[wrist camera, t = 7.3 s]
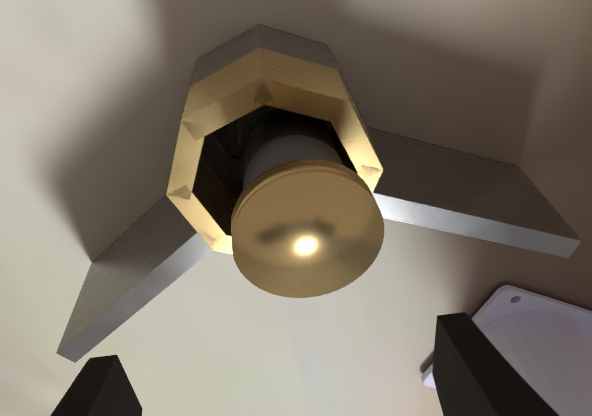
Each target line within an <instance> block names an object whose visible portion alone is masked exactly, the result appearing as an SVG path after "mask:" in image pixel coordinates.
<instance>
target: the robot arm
mask: <svg viewBox="0 0 592 416" xmlns="http://www.w3.org/2000/svg"><path fill="white" fill-rule="evenodd" d="M421 379H422V382H423V384H424V385H426V386H429V387H433V388H436V390H437V393H438V397H439V401H440V404H441V408H442V411H443V415H444V416H592V311H590V310H587V309H584V308H581V307H578V306H574V305H571V304H568V303H565V302H562V301H559V300H555V299H552V298H549V297H546V296H543V295H540V294H536V293H533V292H530V291H527V290H524V289H521V288H517V287H514V286H511V285H504V286H501V287H500V288H498V289H497V290H496V291H495V293H494V294H493V295H492V296H491V297H490V298H489V299H488V301H487V302H486V303H485V304H484V305H483V306H482V307H481V309H480V310H479V311H478V312H477V313H476V314H475V315H474V317H473V318H472V319H471V318H470V317H469V315H467V314H466V313H465V312H463V313H455V314H447V315H438V316H437V324H436V335H435V346H434V358H433V363H432V364H431V366H430V367H429V368H428V369H427V370H426V371H425V372H424V373H423V375H422V376H421ZM51 416H142V407H141V405H140V403H139V401H138V399H137V396H136V394H135V392H134V390H133V388H132V386H131V384H130V382H129V379H128V377H127V375H126V373H125V371H124V369H123V367H122V364H121V362H120V360H119V358H118V356H117V355H111V356H103V357H95V358H90V359H89V360H88V361H87V362H86V364H85V365H84V367H83V368H82V370H81V371H80V373H79V374H78V376H77V377H76V379H75V380H74V382H73V383H72V385H71V386H70V388H69V389H68V391H67V392H66V394H65V395H64V396H63V398H62V399H61V401H60V402H59V404H58V405H57V407H56V408H55V410H54V411H53V413H52V414H51Z"/></svg>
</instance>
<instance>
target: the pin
mask: <svg viewBox="0 0 592 416" xmlns="http://www.w3.org/2000/svg"><path fill="white" fill-rule="evenodd" d="M237 127H238V138H239V149H240V160H241V171H242V182H243V191H242V193H241V195H240V196H239V198H238V199H237V201H236V204H235V206H234V209H233V212H232V217H231V237H232V252H233V257H234V260H235V262H236V265H237V267H238V268H239V270H240V271H241V273H242V274H243V275H244V276H245V278H246V279H248V280H249V281H250V282H251V283H252V284H254V285H255V286H257V287H258V288H260V289H262V290H264V291H266V292H269V293H272V294H275V295H279V296H283V297H291V298H306V297H314V296H320V295H324V294H328V293H331V292H333V291H336V290H338V289H340V288H343V287H345V286H346V285H348V284H350V283H351V282H353V281H354V280H356V279H357V278H358V277H360V276H361V275H362V274H363V273H364V272H365V271H366V270H367V269H368V268H369V267H370V266H371V264H372V263H373V262H374V260H375V259H376V257H377V255H378V253H379V251H380V249H381V246H382V243H383V238H384V222H383V217H382V214H381V211H380V209H379V207H378V205H377V203H376V200H375V198H374V196H373V194H372V192H371V190H370V188H369V187H368V185H367V184H366V183H365V181H364V180H363V179H362V178H361V177H360V176H359V175H358V174H357V173H355V172H354V171H352V170H351V169H349V168H347V167H345V166H343V164H342V161H341V159H340V157H339V154H338V152H337V149H336V147H335V145H334V142H333V140H332V138H331V135H330V133H329V130H328V128H327V126H326V123H325V121H324V120H322V119H318V118H315V117H311V116H307V115H303V114H299V113H295V112H291V111H288V110H284V109H280V108H276V107H272V106H268V105H262V106H261V107H259V108H257V109H255V110H253V111H251V112H249V113H247V114H245V115H244V116H242V117H240V118H238V119H237Z"/></svg>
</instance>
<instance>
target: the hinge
mask: <svg viewBox="0 0 592 416" xmlns="http://www.w3.org/2000/svg"><path fill="white" fill-rule="evenodd" d="M262 105H268V106H272V107H276V108H280V109H284V110H288V111H291V112H295V113H299V114H303V115H307V116H311V117H315V118H318V119H322V120H326V121H329V123H328V126H327V128H328V130H329V133H330V135H331V138H332V140H333V142H334V145H335V147H336V149H337V152H338V154H339V157H340V159H341V161H342V164H343V166H345V167H347V168H349V169H351V170H352V171H354V172H355V173H357V174H358V175H359V176H360V177H361V178H362V179H363V180H364V181H365V183H366V184H367V185H368V187H369V188H370V190H371V192H372V194H373V196H374V198H375V200H376V203H377V205H378V207H379V209H380V211H381V214H382V217H383V218H386V219H391V220H396V221H400V222H405V223H409V224H414V225H418V226H423V227H428V228H432V229H437V230H441V231H446V232H450V233H455V234H460V235H464V236H469V237H473V238H478V239H482V240H487V241H491V242H496V243H501V244H505V245H510V246H514V247H519V248H523V249H528V250H533V251H537V252H542V253H546V254H551V255H555V256H560V257H564V258H569V257H570V256H571V255H572V253H573V252H574V251H575V250H576V248H577V247H578V246H579V244H580V243H581V242H582V240H581V239H580V238H579V237H578V236H577V234H576V233H575V232H574V231H573V230H572V229H571V227H570V226H569V225H568V224H567V223H566V222H565V220H564V219H563V218H562V217H561V216H560V215H559V213H558V212H557V211H556V210H555V209H554V208H553V206H552V205H551V204H550V203H549V202H548V201H547V199H546V198H545V197H544V196H543V195H542V193H541V192H540V191H539V190H538V189H537V188H536V186H535V185H534V184H533V183H532V182H531V181H530V179H529V178H528V177H527V176H526V175H525V174H524V172H523V171H522V170H521V169H520V168H519V167H517V166H513V165H509V164H505V163H501V162H498V161H494V160H490V159H486V158H482V157H478V156H475V155H471V154H467V153H463V152H459V151H455V150H452V149H448V148H444V147H440V146H436V145H432V144H429V143H425V142H421V141H417V140H413V139H410V138H406V137H402V136H398V135H394V134H390V133H387V132H383V131H379V130H375V129H371V128H367V127H365V125H364V122H363V120H362V117H361V115H360V113H359V110H358V108H357V105H356V103H355V101H354V99H353V97H352V95H351V93H350V91H349V89H348V87H347V85H346V83H345V81H344V79H343V77H342V75H341V73H340V71H339V69H338V67H337V65H336V62H335V60H334V58H333V56H332V54H331V52H330V50H329V48H328V46H327V45H326V44H322V43H319V42H315V41H312V40H309V39H305V38H302V37H299V36H295V35H292V34H288V33H285V32H282V31H278V30H275V29H272V28H268V27H265V26H261V25H257V26H255V27H254V28H252V29H250V30H248V31H247V32H245V33H243V34H241V35H240V36H238V37H236V38H234V39H233V40H231V41H229V42H227V43H226V44H224V45H222V46H220V47H219V48H217V49H215V50H213V51H212V52H210V53H208V54H206V55H205V56H203V57H201V58H199V59H197V62H196V66H195V69H194V73H193V77H192V81H191V85H190V88H189V92H188V96H187V100H186V103H185V107H184V111H183V115H182V118H181V124H180V129H179V134H178V139H177V144H176V149H175V154H174V159H173V164H172V169H171V174H170V179H169V184H168V189H167V193H166V195H165V196H164V197H163V198H162V199H161V200H159V201H158V202H157V203H156V204H155V205H154V206H153V207H152V208H151V209H150V210H149V211H148V212H146V213H145V214H144V215H143V216H142V217H141V218H140V219H139V220H138V221H137V222H136V223H135V224H133V225H132V226H131V227H130V228H129V229H128V230H127V231H126V232H125V233H124V234H123V235H122V236H120V237H119V238H118V239H117V240H116V241H115V242H114V243H113V244H112V245H111V246H110V247H109V248H108V249H106V250H105V251H104V252H103V253H102V254H101V255H100V256H99V257H98V258H97V259H96V260H95V261H93V262H92V263H91V266H90V268H89V271H88V273H87V276H86V279H85V281H84V284H83V286H82V289H81V291H80V294H79V296H78V299H77V301H76V304H75V307H74V309H73V312H72V314H71V317H70V319H69V322H68V324H67V327H66V330H65V332H64V335H63V337H62V340H61V342H60V345H59V347H58V350H57V354H59V355H61V356H63V357H65V358H67V359H69V360H71V361H73V362H75V363H76V362H77V361H78V360H79V359H80V358H82V357H83V356H84V355H85V354H86V353H88V352H89V351H90V350H91V349H92V348H94V347H95V346H96V345H97V344H99V343H100V342H101V341H102V340H103V339H105V338H106V337H107V336H108V335H109V334H111V333H112V332H113V331H114V330H116V329H117V328H118V327H119V326H120V325H122V324H123V323H124V322H125V321H126V320H128V319H129V318H130V317H131V316H132V315H134V314H135V313H136V312H137V311H139V310H140V309H141V308H142V307H143V306H145V305H146V304H147V303H148V302H149V301H151V300H152V299H153V298H154V297H156V296H157V295H158V294H159V293H160V292H162V291H163V290H164V289H165V288H166V287H168V286H169V285H170V284H171V283H172V282H174V281H175V280H176V279H177V278H179V277H180V276H181V275H182V274H183V273H185V272H186V271H187V270H188V269H189V268H191V267H192V266H193V265H194V264H196V263H197V262H198V261H199V260H200V259H202V258H203V257H204V256H205V255H206V254H208V253H209V252H210V251H211V250H213V251H219V252H224V253H229V254H233V252H232V237H231V217H232V212H233V209H234V206H235V204H236V201H237V199H238V198H239V196H240V195H241V193H242V191H243V182H242V171H241V160H237V159H233V158H231V157H230V156H229V154H228V153H227V151H226V150H225V148H224V147H223V146H222V144H221V143H220V141H219V140H218V138H217V137H216V136H215V134H214V133H213V131H215V130H217V129H219V128H221V127H223V126H225V125H227V124H229V123H230V122H232V121H234V120H236V119H238V118H240V117H242V116H244V115H245V114H247V113H249V112H251V111H253V110H255V109H257V108H259V107H261V106H262Z"/></svg>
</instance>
